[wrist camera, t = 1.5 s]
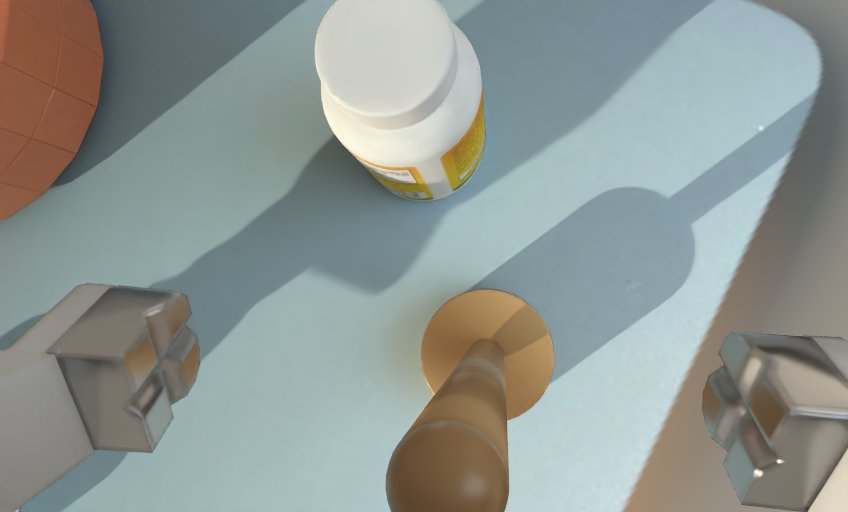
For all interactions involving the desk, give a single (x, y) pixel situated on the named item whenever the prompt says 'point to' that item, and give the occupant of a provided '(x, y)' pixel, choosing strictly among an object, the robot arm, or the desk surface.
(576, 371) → the desk surface
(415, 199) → the supplement bottle
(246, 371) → the desk surface
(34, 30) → the bowl
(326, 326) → the desk surface
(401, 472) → the wooden post stand
